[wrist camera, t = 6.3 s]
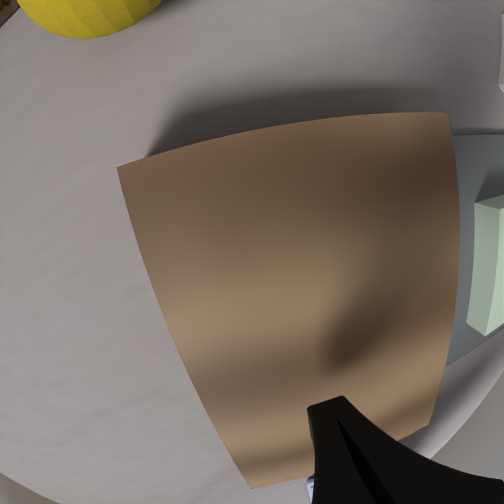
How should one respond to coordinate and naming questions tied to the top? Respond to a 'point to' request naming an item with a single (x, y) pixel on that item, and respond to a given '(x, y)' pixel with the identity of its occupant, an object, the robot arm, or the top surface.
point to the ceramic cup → (7, 10)
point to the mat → (473, 224)
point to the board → (305, 274)
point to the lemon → (87, 15)
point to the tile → (488, 267)
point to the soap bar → (502, 59)
